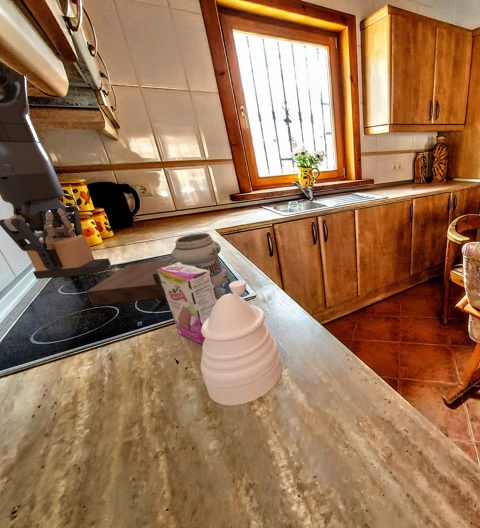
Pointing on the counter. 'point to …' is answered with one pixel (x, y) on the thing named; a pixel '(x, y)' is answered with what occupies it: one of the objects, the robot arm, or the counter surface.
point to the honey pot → (238, 351)
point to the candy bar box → (188, 297)
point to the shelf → (131, 284)
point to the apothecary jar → (202, 257)
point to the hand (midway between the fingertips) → (65, 263)
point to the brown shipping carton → (69, 259)
